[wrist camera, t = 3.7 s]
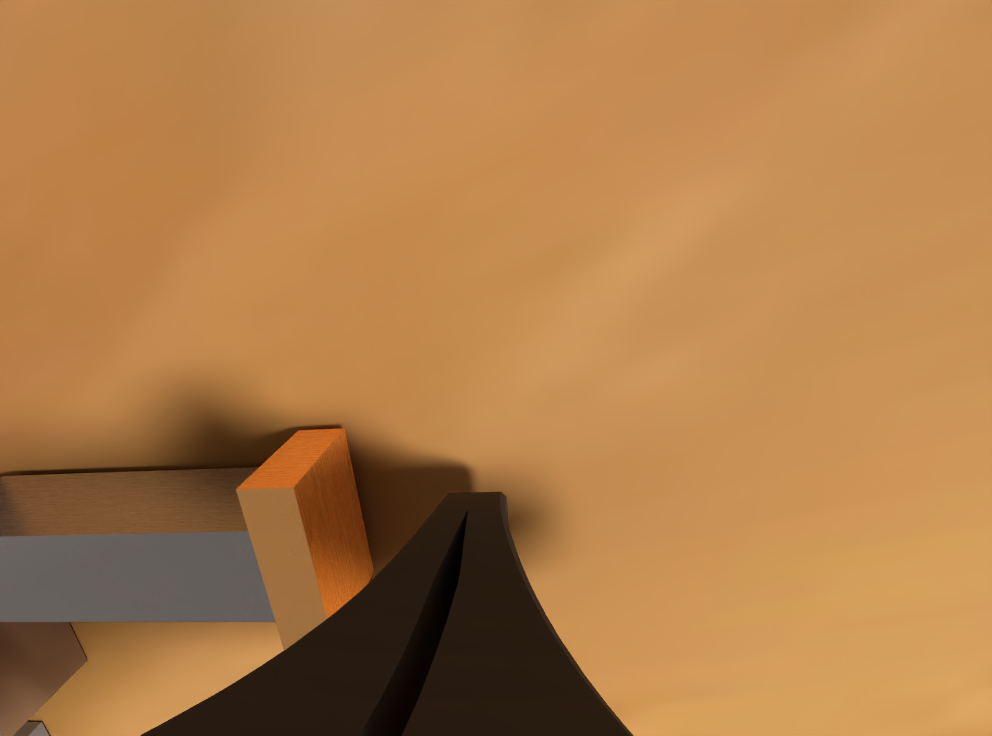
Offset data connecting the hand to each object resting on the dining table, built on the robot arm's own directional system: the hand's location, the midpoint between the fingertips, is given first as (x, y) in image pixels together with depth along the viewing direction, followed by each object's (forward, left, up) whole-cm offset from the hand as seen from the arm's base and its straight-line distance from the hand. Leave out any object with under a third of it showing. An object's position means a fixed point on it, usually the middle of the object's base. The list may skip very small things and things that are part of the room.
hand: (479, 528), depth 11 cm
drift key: (0, +8, -1) cm, 8 cm away
